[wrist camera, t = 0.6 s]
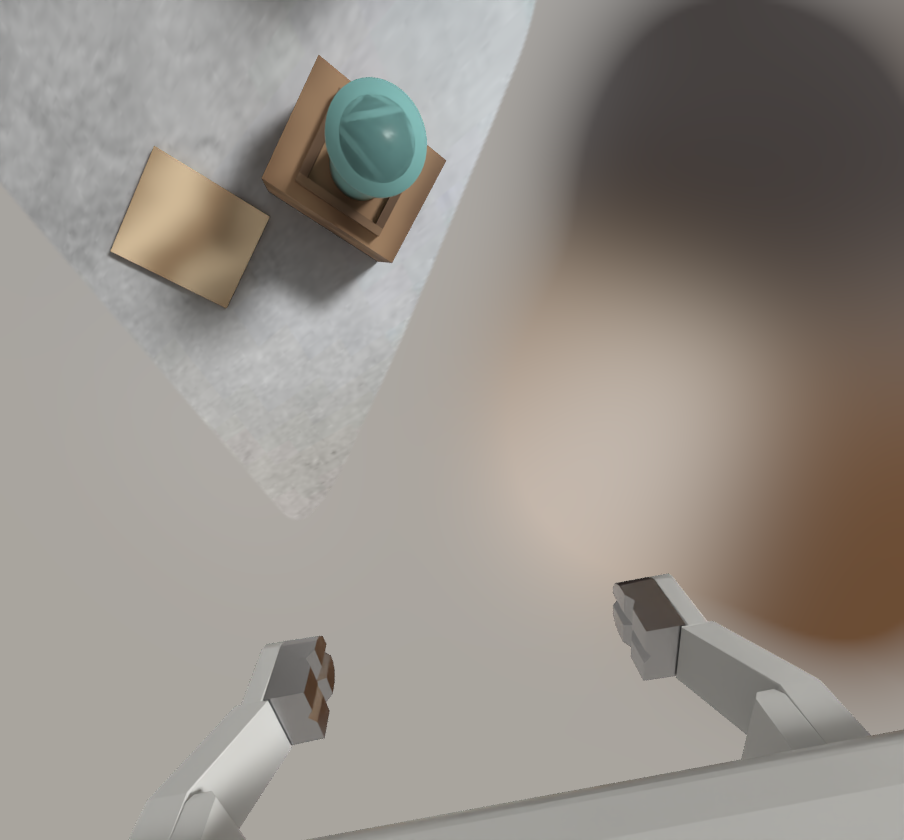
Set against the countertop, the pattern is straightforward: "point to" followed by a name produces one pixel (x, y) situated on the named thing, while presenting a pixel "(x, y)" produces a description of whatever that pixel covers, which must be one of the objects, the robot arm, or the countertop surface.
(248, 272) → the countertop surface
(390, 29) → the countertop surface
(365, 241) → the walnut box
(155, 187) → the cork mat
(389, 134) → the stopper cap
